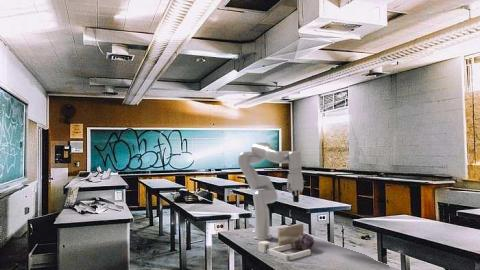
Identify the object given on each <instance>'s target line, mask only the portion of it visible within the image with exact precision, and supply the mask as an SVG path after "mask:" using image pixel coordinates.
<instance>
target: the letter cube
mask: <svg viewBox="0 0 480 270" xmlns="http://www.w3.org/2000/svg"><path fill="white" fill-rule="evenodd" d="M270 248H271V242H269V241H268V240H261V241H258V244H257V249H258V250H257V251H258V252H261V253H267V249H270Z"/></svg>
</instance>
